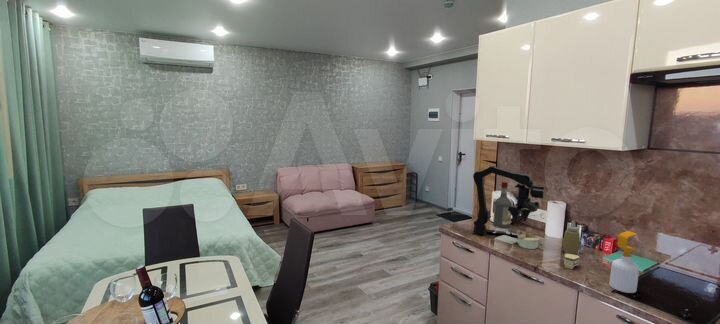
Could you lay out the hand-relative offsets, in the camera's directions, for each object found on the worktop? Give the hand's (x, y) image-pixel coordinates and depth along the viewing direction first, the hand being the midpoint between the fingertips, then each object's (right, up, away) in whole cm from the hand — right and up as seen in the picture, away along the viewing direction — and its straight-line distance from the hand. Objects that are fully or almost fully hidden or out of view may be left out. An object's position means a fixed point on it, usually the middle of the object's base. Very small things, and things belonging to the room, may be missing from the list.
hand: (520, 222), depth 193 cm
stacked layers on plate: (+10, -17, -30) cm, 36 cm away
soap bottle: (+19, -19, -51) cm, 58 cm away
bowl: (+2, -13, -5) cm, 14 cm away
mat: (-5, -11, +5) cm, 13 cm away
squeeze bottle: (+20, -14, -13) cm, 28 cm away
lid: (+2, -8, -5) cm, 10 cm away
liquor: (+2, -9, +31) cm, 32 cm away
